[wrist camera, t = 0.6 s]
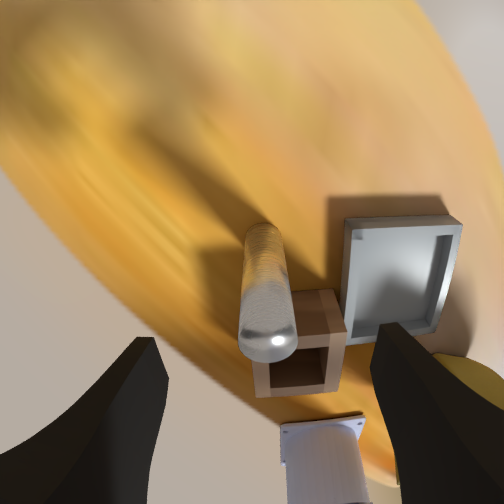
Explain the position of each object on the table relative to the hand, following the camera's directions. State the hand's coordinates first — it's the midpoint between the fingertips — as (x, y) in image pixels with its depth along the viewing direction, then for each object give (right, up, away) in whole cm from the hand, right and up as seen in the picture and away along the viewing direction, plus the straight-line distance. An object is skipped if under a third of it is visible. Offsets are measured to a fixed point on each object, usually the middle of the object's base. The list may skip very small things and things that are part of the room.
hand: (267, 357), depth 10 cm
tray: (+8, +2, +9) cm, 12 cm away
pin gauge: (0, +4, +8) cm, 9 cm away
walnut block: (+2, -1, +10) cm, 11 cm away
